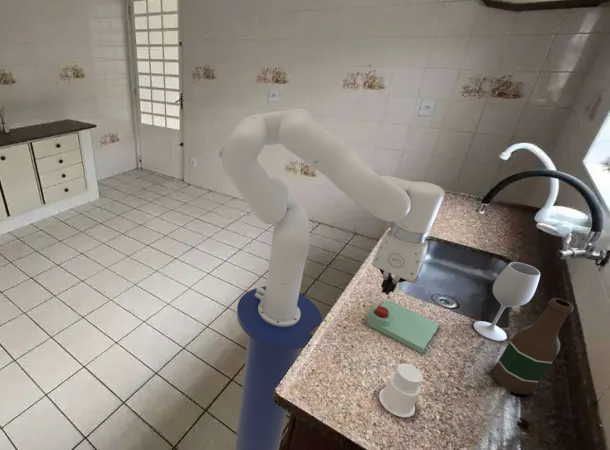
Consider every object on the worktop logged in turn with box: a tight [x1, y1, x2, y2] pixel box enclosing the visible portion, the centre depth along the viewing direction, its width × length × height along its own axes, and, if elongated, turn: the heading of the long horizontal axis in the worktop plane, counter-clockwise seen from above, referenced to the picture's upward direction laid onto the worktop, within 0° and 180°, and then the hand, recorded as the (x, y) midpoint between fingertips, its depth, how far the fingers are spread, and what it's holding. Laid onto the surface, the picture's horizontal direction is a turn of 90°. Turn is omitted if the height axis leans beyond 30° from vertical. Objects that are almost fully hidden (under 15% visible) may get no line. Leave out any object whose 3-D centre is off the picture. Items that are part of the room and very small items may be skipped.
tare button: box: [375, 305, 389, 318], centre depth 97 cm, size 3×3×2 cm
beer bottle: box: [491, 297, 575, 395], centre depth 77 cm, size 8×8×24 cm
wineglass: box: [473, 261, 541, 342], centre depth 91 cm, size 8×8×21 cm
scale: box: [366, 298, 440, 354], centre depth 97 cm, size 15×13×4 cm
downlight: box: [378, 363, 423, 418], centre depth 75 cm, size 8×7×10 cm
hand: (386, 291), depth 94 cm, fingers closed
